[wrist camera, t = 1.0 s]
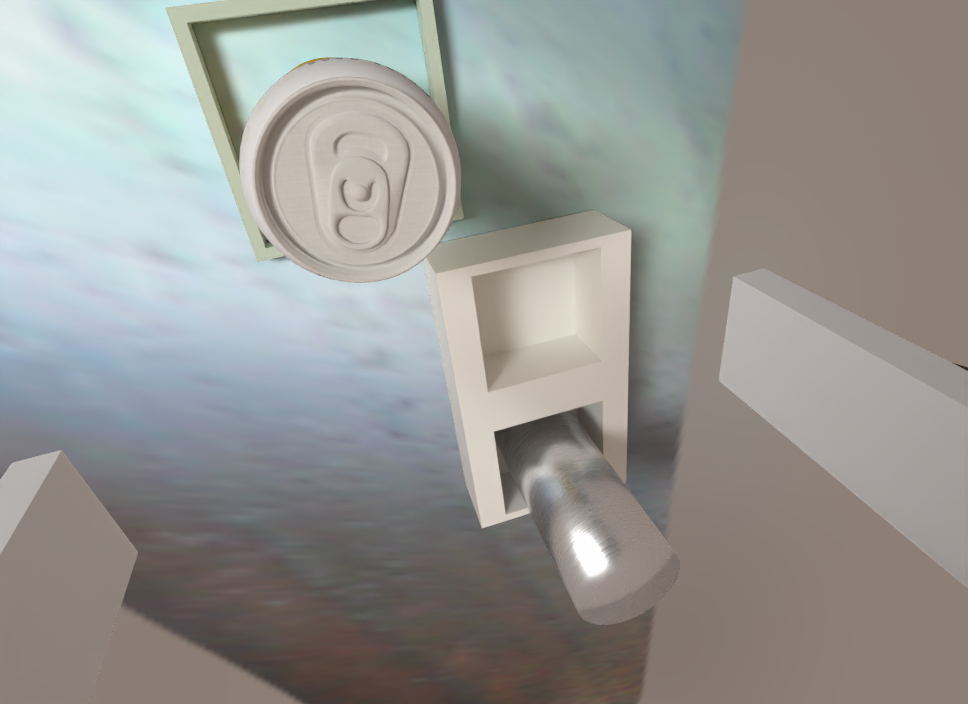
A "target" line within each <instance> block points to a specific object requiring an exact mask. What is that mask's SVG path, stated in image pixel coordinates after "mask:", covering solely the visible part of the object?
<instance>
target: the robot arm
mask: <svg viewBox="0 0 968 704" xmlns="http://www.w3.org/2000/svg"><path fill="white" fill-rule="evenodd" d="M719 381H720V382H721V383H722V384H723V385H725V386H726V387H727V388H728V389H729V390H731V391H732V392H733V393H734V394H735V395H736V396H738V397H739V398H740V399H741V400H742V401H744V402H745V403H746V404H747V405H749V406H750V407H751V408H752V409H753V410H755V411H756V412H757V413H758V414H759V415H761V416H762V417H763V418H764V419H765V420H766V421H768V422H769V423H770V424H771V425H772V426H774V427H775V428H776V429H778V430H779V431H780V432H781V433H782V434H783V435H785V436H786V437H787V438H788V439H789V440H791V441H792V442H793V443H794V444H795V445H797V446H798V447H799V448H800V449H801V450H802V451H804V452H805V453H806V454H807V455H808V456H810V457H811V458H812V459H813V460H814V461H816V462H817V463H818V464H819V465H820V466H822V467H823V468H824V469H825V470H826V471H828V472H829V473H830V474H831V475H832V476H834V477H835V478H836V479H837V480H838V481H840V482H841V483H842V484H843V485H845V486H846V487H847V488H848V489H849V490H850V491H852V492H853V493H854V494H855V495H857V496H858V497H859V498H860V499H861V500H862V501H864V502H865V503H866V504H867V505H869V506H870V507H871V508H872V509H873V510H874V511H876V512H877V513H878V514H879V515H881V516H882V517H883V518H884V519H885V520H887V521H888V522H889V523H890V524H891V525H892V526H894V527H895V528H896V529H897V530H899V531H900V532H901V533H902V534H903V535H905V536H906V537H907V538H908V539H909V540H911V541H912V542H913V543H914V544H915V545H916V546H918V547H919V548H920V549H921V550H922V551H924V552H925V553H926V554H927V555H928V556H930V557H931V558H932V559H933V560H934V561H936V562H937V563H938V564H939V565H940V566H942V567H943V568H945V570H946V571H948V572H949V573H950V574H951V575H953V576H954V577H955V578H956V579H957V580H958V581H960V582H961V583H962V584H963V585H964V586H966V587H967V588H968V368H967V367H964V366H961V365H957V364H954V363H951V362H949V361H947V360H945V359H943V358H941V357H939V356H937V355H935V354H933V353H931V352H929V351H927V350H925V349H923V348H921V347H919V346H917V345H915V344H913V343H911V342H909V341H907V340H906V339H904V338H902V337H900V336H898V335H896V334H894V333H892V332H890V331H888V330H886V329H884V328H882V327H880V326H878V325H876V324H874V323H872V322H870V321H868V320H866V319H864V318H862V317H860V316H858V315H856V314H854V313H852V312H850V311H848V310H846V309H844V308H842V307H840V306H838V305H836V304H834V303H832V302H830V301H828V300H826V299H824V298H822V297H820V296H818V295H816V294H814V293H812V292H811V291H809V290H807V289H805V288H803V287H800V286H799V285H797V284H795V283H793V282H791V281H789V280H787V279H785V278H783V277H781V276H779V275H777V274H775V273H773V272H771V271H769V270H767V269H765V268H763V269H759V270H756V271H752V272H748V273H744V274H740V275H737V276H734V277H733V283H732V290H731V297H730V304H729V311H728V318H727V325H726V332H725V339H724V346H723V353H722V360H721V367H720V374H719ZM137 554H138V552H137V550H136V549H135V548H134V546H133V545H132V544H131V542H130V541H129V539H128V538H127V537H126V535H125V534H124V533H123V531H122V530H121V529H120V527H119V526H118V525H117V523H116V522H115V521H114V519H113V518H112V517H111V515H110V514H109V513H108V511H107V510H106V509H105V507H104V506H103V505H102V503H101V502H100V501H99V499H98V498H97V497H96V495H95V494H94V493H93V491H92V490H91V489H90V487H89V486H88V485H87V483H86V482H85V481H84V479H83V478H82V477H81V475H80V474H79V473H78V471H77V470H76V469H75V467H74V466H73V464H72V463H71V462H70V460H69V459H68V458H67V456H66V455H65V454H64V452H63V451H62V450H60V451H56V452H52V453H48V454H44V455H41V456H37V457H33V458H29V459H25V460H21V461H17V462H13V463H12V464H11V465H10V467H9V468H8V469H7V471H6V472H5V474H4V475H3V477H2V478H1V480H0V704H89V702H90V699H91V696H92V693H93V690H94V687H95V684H96V681H97V678H98V674H99V672H100V668H101V665H102V662H103V659H104V656H105V653H106V650H107V647H108V644H109V641H110V637H111V634H112V631H113V628H114V625H115V622H116V619H117V616H118V613H119V610H120V607H121V603H122V600H123V597H124V594H125V591H126V588H127V585H128V582H129V579H130V576H131V573H132V569H133V566H134V563H135V560H136V557H137Z"/></svg>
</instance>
